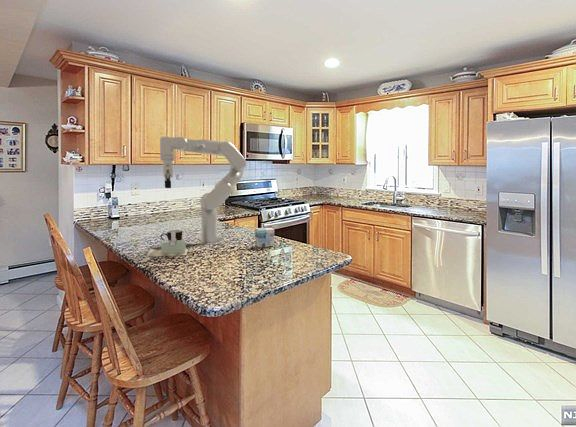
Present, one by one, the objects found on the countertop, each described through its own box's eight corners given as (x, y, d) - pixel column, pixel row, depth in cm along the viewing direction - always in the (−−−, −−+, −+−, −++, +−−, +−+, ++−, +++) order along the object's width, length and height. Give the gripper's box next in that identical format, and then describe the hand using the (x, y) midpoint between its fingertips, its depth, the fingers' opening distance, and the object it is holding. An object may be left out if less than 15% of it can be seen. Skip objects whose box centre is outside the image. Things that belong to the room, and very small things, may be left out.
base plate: (187, 251, 201) (187, 248, 201) (186, 257, 188) (186, 254, 187) (150, 252, 197) (150, 250, 197) (146, 259, 183) (146, 256, 183)
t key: (176, 241, 197) (176, 230, 196) (175, 245, 187) (174, 233, 187) (172, 241, 197) (171, 230, 196) (170, 245, 187) (169, 233, 186)
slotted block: (185, 250, 197) (185, 239, 196) (184, 253, 191) (184, 242, 190) (162, 251, 194) (162, 240, 193) (161, 254, 188) (161, 242, 188)
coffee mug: (185, 247, 212) (185, 230, 211) (176, 250, 204) (176, 233, 203) (169, 245, 216) (169, 229, 214) (160, 248, 208) (159, 231, 206)
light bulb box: (257, 247, 214) (257, 230, 212) (254, 245, 220) (254, 228, 218) (274, 246, 218) (274, 229, 216) (271, 244, 224) (271, 227, 222)
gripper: (174, 158, 202) (175, 188, 204) (173, 158, 218) (173, 186, 220) (160, 157, 199) (161, 188, 201) (160, 158, 215) (161, 186, 217)
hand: (167, 187), depth 210 cm, fingers open, 9 cm apart
